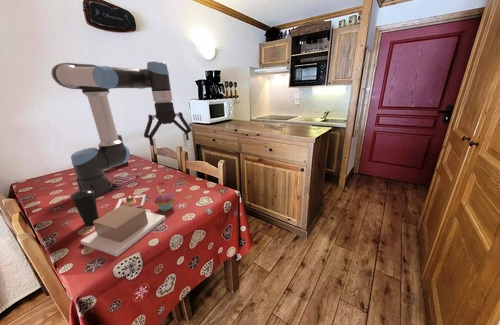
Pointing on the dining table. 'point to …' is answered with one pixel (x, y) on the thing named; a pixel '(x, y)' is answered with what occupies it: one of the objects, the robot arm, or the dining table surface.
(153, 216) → the plinth
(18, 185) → the dining table surface
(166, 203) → the cupcake
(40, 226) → the dining table surface
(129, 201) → the white square frame
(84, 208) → the drinking cup
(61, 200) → the dining table surface
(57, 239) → the dining table surface
